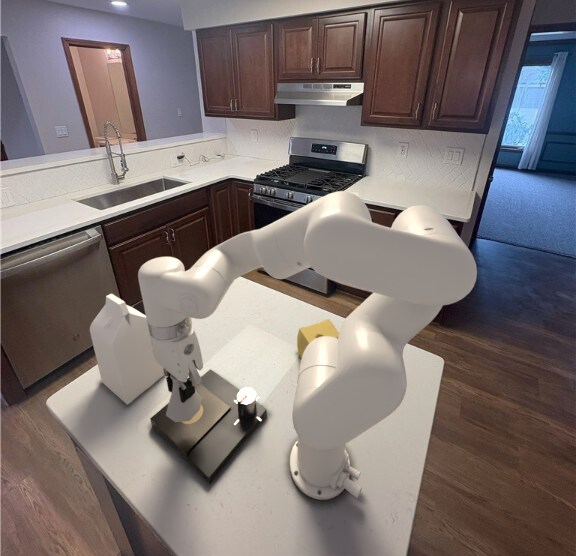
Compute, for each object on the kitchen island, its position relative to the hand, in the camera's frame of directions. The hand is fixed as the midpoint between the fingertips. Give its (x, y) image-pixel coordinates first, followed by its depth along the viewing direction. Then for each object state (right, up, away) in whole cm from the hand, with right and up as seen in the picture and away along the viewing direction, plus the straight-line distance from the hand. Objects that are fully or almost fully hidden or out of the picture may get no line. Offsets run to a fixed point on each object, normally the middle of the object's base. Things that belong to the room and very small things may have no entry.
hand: (181, 391), depth 65 cm
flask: (0, -4, +2) cm, 5 cm away
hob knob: (+12, -10, +10) cm, 19 cm away
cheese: (+31, -5, +27) cm, 41 cm away
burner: (-1, -10, +9) cm, 13 cm away
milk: (-20, -7, +21) cm, 30 cm away
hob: (+4, -12, +10) cm, 16 cm away
